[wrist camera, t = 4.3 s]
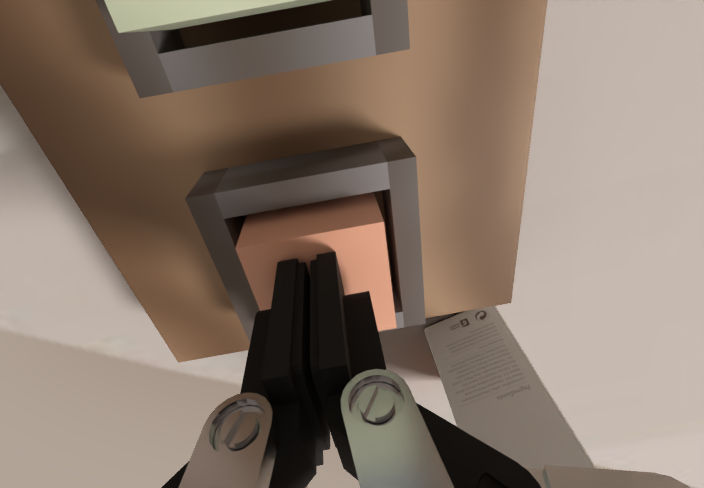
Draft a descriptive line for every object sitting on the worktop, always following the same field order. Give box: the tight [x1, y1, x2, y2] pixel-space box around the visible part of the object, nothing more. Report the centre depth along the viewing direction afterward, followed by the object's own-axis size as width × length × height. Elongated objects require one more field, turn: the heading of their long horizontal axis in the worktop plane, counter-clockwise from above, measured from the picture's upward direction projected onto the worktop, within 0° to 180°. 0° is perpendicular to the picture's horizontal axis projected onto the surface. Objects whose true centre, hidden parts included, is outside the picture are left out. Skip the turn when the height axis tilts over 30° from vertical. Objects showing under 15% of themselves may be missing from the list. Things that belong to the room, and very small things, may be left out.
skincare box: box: [424, 306, 597, 469], centre depth 16 cm, size 6×4×12 cm
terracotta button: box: [235, 192, 397, 331], centre depth 12 cm, size 4×4×3 cm
